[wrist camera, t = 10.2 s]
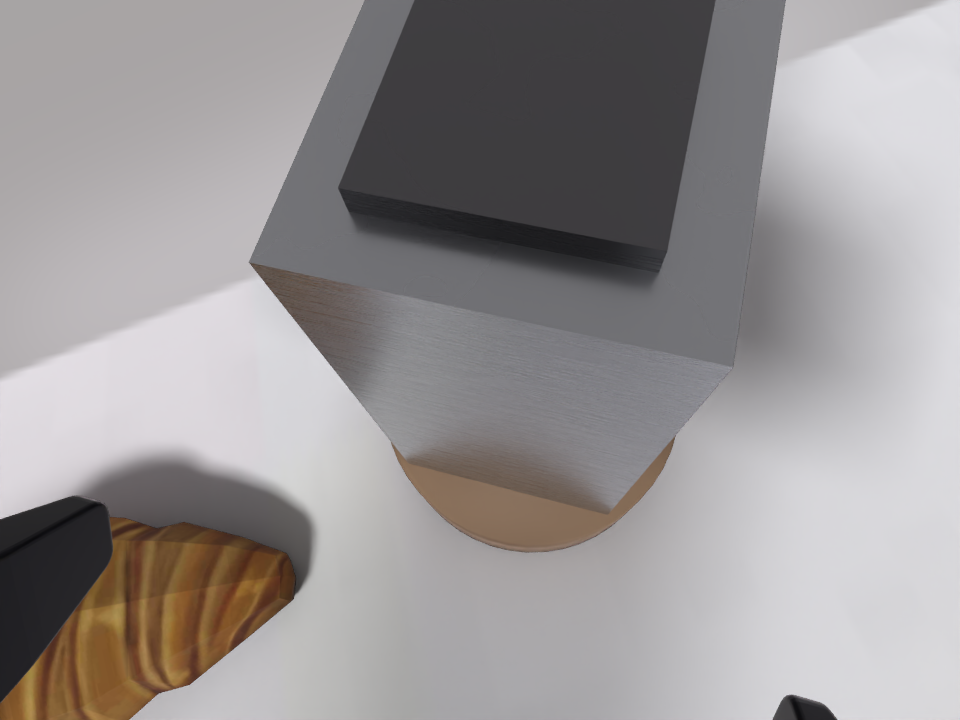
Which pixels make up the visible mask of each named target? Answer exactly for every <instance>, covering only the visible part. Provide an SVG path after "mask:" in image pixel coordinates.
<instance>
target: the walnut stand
mask: <svg viewBox="0 0 960 720" xmlns="http://www.w3.org/2000/svg"><path fill="white" fill-rule="evenodd" d="M675 436H676V435H675ZM675 436H674V438H673V439H672V440H671V441H670V442H669V443H668V445H667V446H666V447H665V448H664V449H663V450H662V452H661V453H660V454H659V455H658V456H657V458H656V459H655V460H654V461H653V462H652V463H651V465H650V466H649V467H648V468H647V469H646V470H645V472H644V473H643V474H642V475H641V476H640V478H639V479H638V480H637V481H636V482H635V483H634V485H633V486H632V487H631V488H630V489H629V490H628V492H627V493H626V494H625V495H624V496H623V498H622V499H621V500H620V501H619V502H618V503H617V505H616V506H615V507H614V508H613V509H612V510H611V512H610V513H609V514H608V515H606V514H602V513H598V512H595V511H591V510H587V509H583V508H579V507H575V506H571V505H567V504H564V503H560V502H556V501H552V500H548V499H544V498H540V497H537V496H533V495H529V494H525V493H521V492H517V491H513V490H509V489H506V488H502V487H498V486H494V485H490V484H486V483H482V482H479V481H475V480H471V479H467V478H463V477H459V476H455V475H451V474H448V473H444V472H440V471H436V470H432V469H428V468H424V467H420V466H417V465H413V464H409V463H408V462H407V461H406V460H405V458H404V457H403V456H402V455H401V453H400V452H399V451H398V450H397V448H396V447H395V446H394V445H393V443H392V442H391V444H392V446H393V449H394V451H395V454H396V456H397V459H398V461H399V463H400V465H401V466H402V468H403V470H404V472H405V473H406V475H407V477H408V478H409V480H410V481H411V482H412V484H413V485H414V486H415V488H416V489H417V490H418V492H419V493H420V494H421V495H422V496H423V497H424V498H425V499H426V501H427V502H428V503H429V504H430V505H431V506H432V507H433V508H434V509H435V510H436V511H437V512H438V513H439V514H440V515H441V516H442V517H443V518H444V519H445V520H446V521H447V522H449V523H450V524H451V525H452V526H454V527H455V528H456V529H458V530H459V531H461V532H463V533H464V534H466V535H468V536H470V537H471V538H473V539H475V540H478V541H480V542H483V543H485V544H488V545H490V546H493V547H497V548H501V549H505V550H510V551H519V552H547V551H553V550H559V549H564V548H568V547H571V546H574V545H577V544H580V543H582V542H585V541H587V540H589V539H591V538H593V537H595V536H597V535H599V534H600V533H602V532H603V531H605V530H606V529H608V528H609V527H611V526H612V525H613V524H615V523H616V522H617V521H618V520H619V519H620V518H621V517H623V516H624V515H625V514H626V513H627V512H628V511H629V510H630V509H631V508H632V507H633V506H634V505H635V504H636V503H637V502H638V501H639V500H640V499H641V498H642V497H643V496H644V494H645V493H646V492H647V491H648V490H649V489H650V487H651V486H652V485H653V484H654V482H655V480H656V479H657V477H658V476H659V474H660V473H661V471H662V470H663V468H664V465H665V463H666V461H667V459H668V457H669V455H670V452H671V450H672V446H673V443H674V439H675Z"/></svg>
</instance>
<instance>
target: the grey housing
mask: <svg viewBox="0 0 960 720" xmlns="http://www.w3.org/2000/svg"><path fill="white" fill-rule="evenodd" d="M785 1H786V0H365V1H364V4H363V6H362V8H361V10H360V12H359V15H358V17H357V19H356V22H355V24H354V26H353V28H352V31H351V33H350V35H349V37H348V40H347V42H346V44H345V46H344V49H343V51H342V53H341V56H340V58H339V60H338V62H337V64H336V67H335V70H334V71H333V73H332V76H331V78H330V80H329V83H328V85H327V87H326V89H325V91H324V94H323V96H322V98H321V101H320V103H319V105H318V107H317V110H316V112H315V114H314V116H313V119H312V121H311V123H310V126H309V128H308V130H307V133H306V134H305V137H304V139H303V141H302V144H301V146H300V148H299V151H298V153H297V155H296V157H295V159H294V161H293V164H292V166H291V168H290V171H289V173H288V175H287V178H286V180H285V182H284V184H283V186H282V189H281V191H280V193H279V196H278V198H277V200H276V202H275V204H274V207H273V209H272V211H271V213H270V216H269V218H268V220H267V222H266V225H265V227H264V229H263V232H262V234H261V236H260V238H259V241H258V243H257V245H256V247H255V250H254V252H253V254H252V256H251V259H250V261H249V263H250V264H251V266H252V267H253V268H254V269H255V271H256V272H257V273H258V274H259V276H260V277H261V278H262V279H263V281H264V282H265V283H266V284H267V286H268V287H269V288H270V290H271V291H272V292H273V293H274V295H275V296H276V297H277V298H278V300H279V301H280V302H281V303H282V305H283V306H284V307H285V308H286V310H287V311H288V312H289V313H290V315H291V316H292V317H293V319H294V320H295V321H296V322H297V324H298V325H299V326H300V327H301V329H302V330H303V331H304V332H305V334H306V335H307V336H308V337H309V339H310V340H311V341H312V342H313V344H314V345H315V346H316V348H317V349H318V350H319V351H320V353H321V354H322V355H323V356H324V358H325V359H326V360H327V361H328V363H329V364H330V365H331V366H332V368H333V369H334V370H335V371H336V373H337V374H338V375H339V377H340V378H341V379H342V380H343V382H344V383H345V384H346V385H347V387H348V388H349V389H350V390H351V392H352V393H353V394H354V395H355V397H356V398H357V399H358V400H359V402H360V403H361V404H362V406H363V407H364V408H365V409H366V411H367V412H368V413H369V414H370V416H371V417H372V418H373V419H374V421H375V422H376V423H377V424H378V426H379V427H380V428H381V429H382V431H383V432H384V433H385V435H386V436H387V437H388V438H389V440H390V441H391V442H392V443H393V445H394V446H395V447H396V448H397V450H398V451H399V452H400V453H401V455H402V456H403V457H404V458H405V460H406V461H407V462H408V463H409V464H413V465H417V466H420V467H424V468H428V469H432V470H436V471H440V472H444V473H448V474H451V475H455V476H459V477H463V478H467V479H471V480H475V481H479V482H482V483H486V484H490V485H494V486H498V487H502V488H506V489H509V490H513V491H517V492H521V493H525V494H529V495H533V496H537V497H540V498H544V499H548V500H552V501H556V502H560V503H564V504H567V505H571V506H575V507H579V508H583V509H587V510H591V511H595V512H598V513H602V514H606V515H608V514H609V513H610V512H611V510H612V509H613V508H614V507H615V506H616V505H617V503H618V502H619V501H620V500H621V499H622V498H623V496H624V495H625V494H626V493H627V492H628V490H629V489H630V488H631V487H632V486H633V485H634V483H635V482H636V481H637V480H638V479H639V478H640V476H641V475H642V474H643V473H644V472H645V470H646V469H647V468H648V467H649V466H650V465H651V463H652V462H653V461H654V460H655V459H656V458H657V456H658V455H659V454H660V453H661V452H662V450H663V449H664V448H665V447H666V446H667V445H668V443H669V442H670V441H671V440H672V439H673V438H674V436H675V435H676V434H677V433H678V432H679V430H680V429H681V428H682V427H683V426H684V425H685V423H686V422H687V421H688V420H689V419H690V418H691V416H692V415H693V414H694V413H695V412H696V410H697V409H698V408H699V407H700V406H701V405H702V403H703V402H704V401H705V400H706V399H707V398H708V396H709V395H710V394H711V393H712V392H713V390H714V389H715V388H716V387H717V386H718V385H719V383H720V382H721V381H722V380H723V379H724V378H725V376H726V375H727V374H728V373H729V372H730V370H731V369H732V368H733V365H734V358H735V351H736V344H737V337H738V330H739V323H740V316H741V309H742V302H743V295H744V288H745V281H746V274H747V267H748V260H749V253H750V246H751V239H752V232H753V225H754V218H755V211H756V204H757V197H758V190H759V183H760V176H761V169H762V162H763V155H764V148H765V141H766V134H767V127H768V120H769V113H770V106H771V99H772V92H773V85H774V78H775V71H776V64H777V57H778V50H779V43H780V35H781V29H782V22H783V15H784V8H785Z"/></svg>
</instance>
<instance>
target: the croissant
mask: <svg viewBox="0 0 960 720" xmlns="http://www.w3.org/2000/svg"><path fill="white" fill-rule="evenodd" d="M109 518H110V526H111V533H112V541H113V554H112V557H111V560H110V562H109V564H108V566H107V567H106V569H105V570H104V572H103V573H102V574H101V576H100V577H99V578H98V580H97V581H96V582H95V584H94V585H93V586H92V588H91V589H90V590H89V592H88V593H87V594H86V596H85V597H84V599H83V600H82V601H81V603H80V604H79V605H78V607H77V608H76V609H75V611H74V612H73V613H72V615H71V616H70V617H69V619H68V620H67V621H66V623H65V624H64V625H63V627H62V628H61V630H60V631H59V632H58V634H57V635H56V636H55V638H54V639H53V640H52V642H51V643H50V644H49V646H48V647H47V648H46V650H45V651H44V652H43V653H42V655H41V656H40V657H39V659H38V660H37V661H36V662H35V664H34V665H33V666H32V667H31V669H30V670H29V671H28V672H27V673H26V675H25V676H24V677H23V678H22V679H21V680H20V682H19V683H18V684H17V685H16V686H15V687H14V688H13V690H12V691H11V692H10V693H9V694H8V695H7V696H6V697H5V699H4V700H3V701H2V702H1V703H0V720H129V719H130V718H132V717H133V716H134V715H135V714H136V713H137V712H138V711H139V710H141V709H142V708H143V707H144V706H145V705H146V704H147V703H148V702H150V701H151V700H152V699H153V698H154V697H155V696H156V695H157V694H159V693H162V692H165V691H169V690H173V689H176V688H180V687H183V686H187V685H190V684H191V683H192V682H194V681H195V680H196V679H197V678H199V677H200V676H201V675H202V674H203V673H205V672H206V671H207V670H208V669H210V668H211V667H212V666H213V665H215V664H216V663H217V662H218V661H219V660H221V659H222V658H223V657H224V656H226V655H227V654H228V653H229V652H231V651H232V650H233V649H234V648H235V647H237V646H238V645H239V644H240V643H242V642H243V641H244V640H245V639H246V638H248V637H249V636H250V635H251V634H253V633H254V632H255V631H256V630H257V629H259V628H260V627H261V626H262V625H263V624H265V623H266V622H267V621H268V620H269V619H271V618H272V617H273V616H274V615H275V614H277V613H278V612H279V611H280V610H281V609H283V608H284V607H285V606H286V605H287V604H289V603H290V602H291V601H292V600H293V599H294V592H295V583H296V577H295V573H294V570H293V567H292V564H291V560H290V558H289V556H288V555H287V553H284V552H281V551H279V550H276V549H273V548H271V547H268V546H265V545H262V544H260V543H257V542H254V541H252V540H249V539H246V538H243V537H240V536H236V535H232V534H228V533H224V532H221V531H217V530H213V529H209V528H205V527H201V526H197V525H193V524H190V523H186V522H182V523H178V524H174V525H170V526H166V527H161V528H154V527H151V526H148V525H145V524H142V523H139V522H136V521H132V520H129V519H126V518H116V517H109Z"/></svg>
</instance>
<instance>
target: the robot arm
mask: <svg viewBox="0 0 960 720" xmlns="http://www.w3.org/2000/svg"><path fill="white" fill-rule="evenodd" d="M112 554H113V541H112V533H111V526H110V518H109V511H108V508H107V506H106V505H105V504H104V503H103V502H101V501H97V500H94V499H90V498H87V497H83V496H71V497H68V498H65V499H62V500H59V501H55V502H52V503H49V504H46V505H43V506H40V507H37V508H34V509H31V510H28V511H25V512H21V513H18V514H15V515H12V516H9V517H6V518H3V519H0V703H1V702H2V701H3V700H4V699H5V697H6V696H7V695H8V694H9V693H10V692H11V691H12V690H13V688H14V687H15V686H16V685H17V684H18V683H19V682H20V680H21V679H22V678H23V677H24V676H25V675H26V673H27V672H28V671H29V670H30V669H31V667H32V666H33V665H34V664H35V662H36V661H37V660H38V659H39V657H40V656H41V655H42V653H43V652H44V651H45V650H46V648H47V647H48V646H49V644H50V643H51V642H52V640H53V639H54V638H55V636H56V635H57V634H58V632H59V631H60V630H61V628H62V627H63V625H64V624H65V623H66V621H67V620H68V619H69V617H70V616H71V615H72V613H73V612H74V611H75V609H76V608H77V607H78V605H79V604H80V603H81V601H82V600H83V599H84V597H85V596H86V594H87V593H88V592H89V590H90V589H91V588H92V586H93V585H94V584H95V582H96V581H97V580H98V578H99V577H100V576H101V574H102V573H103V572H104V570H105V569H106V567H107V566H108V564H109V562H110V560H111V557H112ZM773 720H837V718H836V717H835V716H834V714H833V713H832V712H831V711H830V710H829V708H827V707H826V706H825V705H824V704H822V703H820V702H817V701H814V700H810V699H807V698H803V697H799V696H796V695H787V696H785V697H784V698H783V700H782V701H781V703H780V705H779V707H778V709H777V711H776V713H775V715H774V717H773Z"/></svg>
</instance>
